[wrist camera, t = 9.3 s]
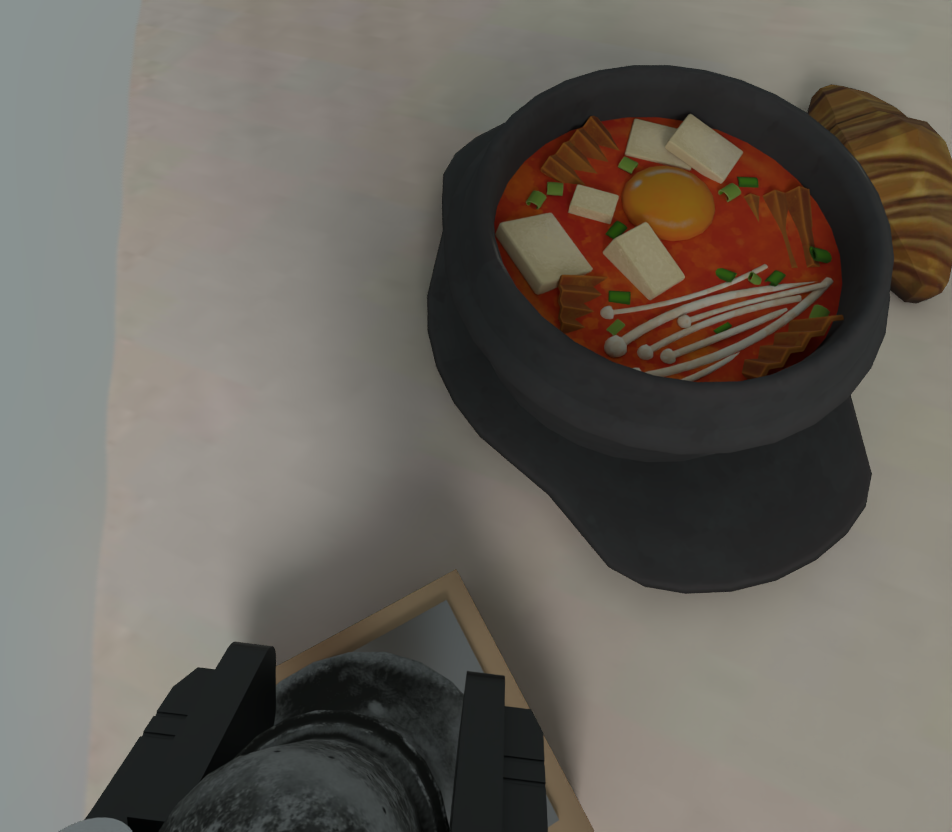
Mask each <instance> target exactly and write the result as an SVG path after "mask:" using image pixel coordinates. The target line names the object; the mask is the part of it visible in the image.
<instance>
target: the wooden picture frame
mask: <svg viewBox="0 0 952 832" xmlns="http://www.w3.org/2000/svg"><path fill="white" fill-rule="evenodd" d="M348 652H388V653H391V654H395V655H398V656H402V657H405V658H409V659H412V660H416V661H419V662H421V663H423V664H425V665H426V666H428V667H430V668H431V669H433V670H434V671H436V672H438V673H439V674H441V675H442V676H444V677H446V678H447V679H449V680H450V681H452V682H453V683H454V684H455V686H456V687H457V688H458V689H459V690H460V691H461V692H462V693H463V694H464V689H465V681H466V673H467V671H472V672H480V673H488V674H496V675H504V676H505V706H509V707H517V708H525V709H530V708H529V706H528V704H527V702H526V700H525V699H524V697H523V695H522V693H521V691H520V689H519V687H518V685H517V683H516V682H515V680H514V678H513V676H512V674H511V672H510V670H509V668H508V666H507V664H506V663H505V661H504V659H503V657H502V655H501V653H500V651H499V649H498V647H497V646H496V644H495V642H494V640H493V638H492V636H491V634H490V632H489V630H488V628H487V627H486V625H485V623H484V621H483V619H482V617H481V615H480V613H479V611H478V609H477V608H476V606H475V604H474V602H473V600H472V598H471V596H470V594H469V592H468V591H467V589H466V587H465V585H464V583H463V581H462V579H461V577H460V575H459V573H458V572H457V570H456V569H455V570H454V571H452V572H450V573H448V574H446V575H444V576H443V577H441V578H439V579H437V580H435V581H433V582H431V583H430V584H428V585H426V586H424V587H422V588H420V589H419V590H417V591H415V592H413V593H411V594H409V595H407V596H406V597H404V598H402V599H400V600H398V601H396V602H395V603H393V604H391V605H389V606H387V607H385V608H383V609H382V610H380V611H378V612H376V613H374V614H372V615H371V616H369V617H367V618H365V619H363V620H361V621H359V622H358V623H356V624H354V625H352V626H350V627H348V628H346V629H345V630H343V631H341V632H339V633H337V634H335V635H334V636H332V637H330V638H328V639H326V640H324V641H322V642H321V643H319V644H317V645H315V646H313V647H311V648H310V649H308V650H306V651H304V652H302V653H300V654H298V655H297V656H295V657H293V658H291V659H289V660H287V661H286V662H284V663H282V664H280V665H278V666H276V685H277V684H278V683H279V682H280V681H282V680H284V679H285V678H287V677H289V676H290V675H292V674H294V673H296V672H297V671H299V670H301V669H302V668H304V667H306V666H308V665H309V664H311V663H313V662H316V661H319V660H323V659H326V658H330V657H334V656H337V655H341V654H344V653H348ZM543 737H544V735H543ZM544 758H545V761H544V766H545V779H546V784H545V788H546V799H547V820H548V832H594V829H593V828H592V826H591V824H590V822H589V820H588V818H587V816H586V814H585V812H584V810H583V809H582V807H581V805H580V803H579V801H578V799H577V797H576V795H575V793H574V791H573V790H572V788H571V786H570V784H569V782H568V780H567V778H566V776H565V774H564V773H563V771H562V769H561V767H560V765H559V763H558V761H557V759H556V757H555V755H554V754H553V752H552V750H551V748H550V746H549V744H548V742H547V740H546V738H545V737H544Z"/></svg>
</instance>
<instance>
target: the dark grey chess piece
mask: <svg viewBox="0 0 952 832" xmlns="http://www.w3.org/2000/svg"><path fill="white" fill-rule="evenodd" d="M463 697H464V694H463V693H462V692H461V691H460V690H459V689H458V688H457V687H456V686H455V684H454V683H453V682H452V681H450V680H449V679H447V678H446V677H444V676H442V675H441V674H439V673H438V672H436V671H434V670H433V669H431V668H430V667H428V666H426V665H425V664H423V663H421V662H419V661H416V660H412V659H409V658H405V657H402V656H398V655H395V654H391V653H388V652H348V653H344V654H341V655H337V656H334V657H330V658H326V659H323V660H319V661H316V662H313V663H311V664H309V665H308V666H306V667H304V668H302V669H301V670H299V671H297V672H296V673H294V674H292V675H290V676H289V677H287V678H285V679H284V680H282V681H280V682H279V683H278V684H277V685H276V715H275V722H274V726H273V727H271V728H269V729H268V730H266V731H264V732H262V733H261V734H259V735H257V736H256V737H255V738H254V739H253V740H252V741H251V742H250V743H249V744H248V745H247V746H246V747H245V748H244V749H243V750H242V751H241V752H240V753H239V754H238V755H237V756H236V757H235V758H233V759H232V760H231V761H230V762H228V763H227V764H225V765H223V766H221V767H220V768H218V769H216V770H215V771H213V772H211V773H210V774H208V775H207V776H206V777H204V778H203V779H202V780H201V781H200V782H199V783H198V784H197V785H196V786H195V787H194V788H193V789H192V790H191V791H190V792H189V793H188V794H187V795H186V796H185V797H184V798H183V799H182V800H181V801H180V802H179V803H178V804H177V805H176V806H175V808H174V809H173V810H172V812H171V813H170V815H169V816H168V818H167V819H166V821H165V822H164V824H163V825H162V827H161V829H160V830H159V832H450V828H449V824H450V814H451V804H452V794H453V785H454V775H455V765H456V756H457V747H458V738H459V730H460V722H461V714H462V705H463Z"/></svg>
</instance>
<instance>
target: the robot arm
mask: <svg viewBox="0 0 952 832" xmlns="http://www.w3.org/2000/svg"><path fill="white" fill-rule="evenodd" d="M275 715H276V653H275V648H274V647H273V646H265V645H257V644H249V643H241V642H233V643H232V644H231V645H230V646H229V647H228V649H227V650H226V652H225V654H224V655H223V657H222V659H221V660H220V662H219V664H218V665H217V667H216V669H207V668H199V667H198V668H196V669H195V670H194V671H193V672H191V673H190V674H189V675H188V676H186V677H185V678H184V679H182V680H181V681H180V682H179V683H177V684H176V685H175V686H173V688H172V689H171V691H170V692H169V694H168V695H167V697H166V698H165V700H164V701H163V703H162V704H161V706H160V707H159V709H158V710H157V714H156V716H153V718H152V719H151V721H150V722H149V724H148V725H147V727H146V728H145V730H144V733H143V736H142V737H141V736H140V737H139V739H138V740H137V742H136V743H135V745H134V747H133V748H132V750H131V751H130V753H129V754H128V756H127V757H126V759H125V760H124V762H123V763H122V765H121V766H120V768H119V769H118V771H117V772H116V774H115V775H114V777H113V778H112V780H111V781H110V783H109V784H108V786H107V787H106V789H105V790H104V792H103V793H102V795H101V796H100V798H99V799H98V801H97V802H96V804H95V806H94V807H93V809H92V810H91V812H90V813H89V814H88V816H87V817H86V818H85V820H83V821H80V822H77V823H74V824H72V825H70V826H68V827H66V828H64V829H62V830H60V831H59V832H159V830H160V829H161V827H162V825H163V824H164V822H165V821H166V819H167V818H168V816H169V815H170V813H171V812H172V810H173V809H174V808H175V806H176V805H177V804H178V803H179V802H180V801H181V800H182V799H183V798H184V797H185V796H186V795H187V794H188V793H189V792H190V791H191V790H192V789H193V788H194V787H195V786H196V785H197V784H198V783H199V782H200V781H201V780H202V779H203V778H204V777H206V776H207V775H208V774H210V773H211V772H213V771H215V770H216V769H218V768H220V767H221V766H223V765H225V764H227V763H228V762H230V761H231V760H232V759H233V758H235V757H236V756H237V755H238V754H239V753H240V752H241V751H242V750H243V749H244V748H245V747H246V746H247V745H248V744H249V743H250V742H251V741H252V740H253V739H254V738H255V737H256V736H257V735H259V734H261V733H262V732H264V731H266V730H268V729H269V728H271V727H273V726H274V722H275ZM544 761H545V758H544V737H543V732H542V730H541V728H540V726H539V724H538V722H537V720H536V718H535V716H534V714H533V713H532V711H531V709H525V708H517V707H509V706H505V676H504V675H496V674H488V673H480V672H472V671H467V673H466V681H465V689H464V697H463V705H462V714H461V722H460V730H459V738H458V747H457V756H456V765H455V775H454V785H453V794H452V804H451V814H450V824H449V828H450V832H548V820H547V799H546V788H545V784H546V779H545V766H544Z"/></svg>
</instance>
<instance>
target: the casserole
mask: <svg viewBox="0 0 952 832" xmlns="http://www.w3.org/2000/svg"><path fill="white" fill-rule="evenodd" d="M442 220H443V232H442V237H441V241H440V245H439V249H438V253H437V257H436V261H435V265H434V269H433V274H432V278H431V282H430V286H429V291H428V295H427V307H428V334H429V338H430V342H431V346H432V351H433V355H434V359H435V363H436V367H437V369H438V371H439V373H440V375H441V377H442V380H443V382H444V384H445V386H446V388H447V390H448V392H449V394H450V396H451V398H452V400H453V402H454V404H455V405H456V406H457V408H458V409H459V410H460V411H461V413H462V414H463V415H464V417H465V418H466V419H467V420H468V422H469V423H470V424H471V426H472V427H473V428H474V430H475V431H476V432H477V433H478V435H479V436H480V437H481V438H482V439H483V440H485V441H486V442H487V443H488V444H489V445H490V446H492V447H493V448H494V449H495V450H496V451H497V452H499V453H500V454H501V455H502V456H503V457H504V458H506V459H507V460H508V461H509V462H510V463H511V464H513V465H514V466H515V467H516V468H517V469H518V470H520V471H521V472H522V473H523V474H524V475H526V476H527V477H528V478H529V479H530V480H531V481H533V482H534V483H535V484H536V485H537V486H539V487H540V488H541V489H542V490H543V491H544V492H546V493H547V494H548V495H549V496H550V497H551V498H552V500H553V501H554V502H555V503H556V504H557V506H558V507H559V508H560V509H561V510H562V512H563V513H564V514H565V515H566V516H567V518H568V519H569V520H570V521H571V522H572V524H573V525H574V526H575V527H576V528H577V530H578V531H579V532H580V533H581V535H582V536H583V537H584V538H585V539H586V541H587V542H588V543H589V544H590V545H591V547H592V548H593V549H594V550H595V551H596V553H597V554H598V555H599V556H600V557H601V559H602V560H603V561H604V562H605V563H606V565H607V566H608V567H609V568H611V569H613V570H615V571H617V572H619V573H621V574H622V575H624V576H626V577H628V578H630V579H632V580H633V581H635V582H637V583H639V584H641V585H643V586H645V587H651V588H656V589H662V590H668V591H673V592H679V593H685V594H687V593H710V592H732V591H736V590H740V589H744V588H748V587H752V586H756V585H760V584H764V583H768V582H772V581H776V580H778V579H780V578H782V577H784V576H786V575H788V574H790V573H792V572H794V571H796V570H798V569H800V568H801V567H803V566H805V565H807V564H809V563H811V562H813V561H815V560H817V559H818V558H819V557H820V556H821V555H823V554H824V553H825V552H826V551H827V550H828V549H830V548H831V547H832V546H833V545H834V544H836V543H837V542H838V541H839V540H840V539H842V538H843V537H844V536H845V535H846V534H847V533H848V531H849V530H850V529H851V527H852V526H853V524H854V523H855V521H856V520H857V518H858V517H859V515H860V514H861V512H862V511H863V510H864V508H865V507H866V502H867V497H868V491H869V486H870V480H871V475H872V473H871V469H870V466H869V462H868V458H867V454H866V451H865V447H864V443H863V440H862V436H861V432H860V428H859V425H858V421H857V417H856V413H855V410H854V406H853V402H852V398H851V394H852V392H853V391H854V390H855V388H856V387H857V386H858V385H859V383H860V382H861V381H862V379H863V378H864V377H865V375H866V374H867V373H868V372H869V370H870V369H871V367H872V365H873V362H874V360H875V358H876V355H877V353H878V350H879V348H880V346H881V343H882V341H883V338H884V336H885V333H886V325H887V317H888V310H889V302H890V293H889V292H890V286H891V279H892V271H893V264H894V253H893V244H892V236H891V228H890V223H889V221H888V218H887V215H886V212H885V210H884V207H883V204H882V202H881V199H880V196H879V193H878V192H877V190H876V188H875V187H874V185H873V184H872V182H871V180H870V179H869V177H868V175H867V174H866V172H865V171H864V169H863V167H862V166H861V164H860V163H859V162H858V161H857V159H856V158H855V157H854V156H853V155H852V154H851V153H850V152H849V151H848V149H847V148H846V147H845V146H844V145H843V144H842V143H841V142H840V140H839V139H838V138H837V137H836V136H835V135H833V134H832V133H831V132H830V131H828V130H827V129H826V128H825V127H824V126H822V125H821V124H820V123H819V122H817V121H816V120H815V119H814V118H812V117H811V116H810V115H809V114H808V113H806V112H804V111H802V110H801V109H799V108H797V107H796V106H794V105H792V104H791V103H789V102H787V101H786V100H784V99H782V98H781V97H779V96H777V95H775V94H773V93H771V92H768V91H766V90H764V89H761V88H759V87H757V86H754V85H752V84H749V83H747V82H745V81H742V80H739V79H736V78H732V77H728V76H725V75H721V74H717V73H713V72H710V71H706V70H700V69H692V68H685V67H677V66H670V65H633V66H626V67H619V68H612V69H605V70H598V71H595V72H592V73H589V74H585V75H582V76H579V77H576V78H573V79H569V80H566V81H564V82H562V83H560V84H558V85H556V86H554V87H552V88H550V89H548V90H546V91H544V92H543V93H541V94H539V95H537V96H535V97H534V98H533V99H532V100H530V101H529V102H528V103H527V104H525V105H524V106H523V107H521V108H520V109H519V110H518V111H516V112H515V113H514V114H513V115H511V117H510V118H509V119H508V120H507V121H506V123H503V124H501V125H499V126H497V127H495V128H493V129H491V130H489V131H488V132H486V133H484V134H482V135H480V136H478V137H476V138H475V139H473V140H472V141H471V142H469V143H468V144H467V145H466V146H464V147H463V148H462V149H461V150H459V151H458V152H457V153H456V154H455V155H454V157H453V159H452V160H451V162H450V164H449V165H448V167H447V169H446V171H445V172H444V174H443V192H442Z"/></svg>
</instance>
